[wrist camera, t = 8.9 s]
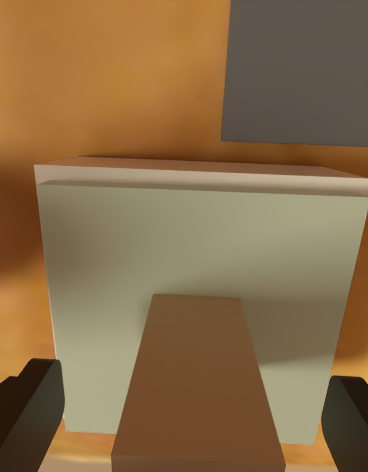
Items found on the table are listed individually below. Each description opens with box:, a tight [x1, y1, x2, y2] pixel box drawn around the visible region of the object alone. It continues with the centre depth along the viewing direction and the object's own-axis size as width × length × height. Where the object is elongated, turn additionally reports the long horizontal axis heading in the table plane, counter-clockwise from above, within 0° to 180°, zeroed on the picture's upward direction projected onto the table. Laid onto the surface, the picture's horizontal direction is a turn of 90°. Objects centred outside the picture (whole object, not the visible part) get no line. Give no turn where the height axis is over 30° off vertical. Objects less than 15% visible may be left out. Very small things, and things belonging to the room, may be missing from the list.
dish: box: [34, 156, 368, 419], centre depth 15 cm, size 12×12×4 cm
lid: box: [37, 180, 368, 472], centre depth 9 cm, size 11×11×7 cm
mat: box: [221, 0, 368, 147], centre depth 13 cm, size 11×11×1 cm
